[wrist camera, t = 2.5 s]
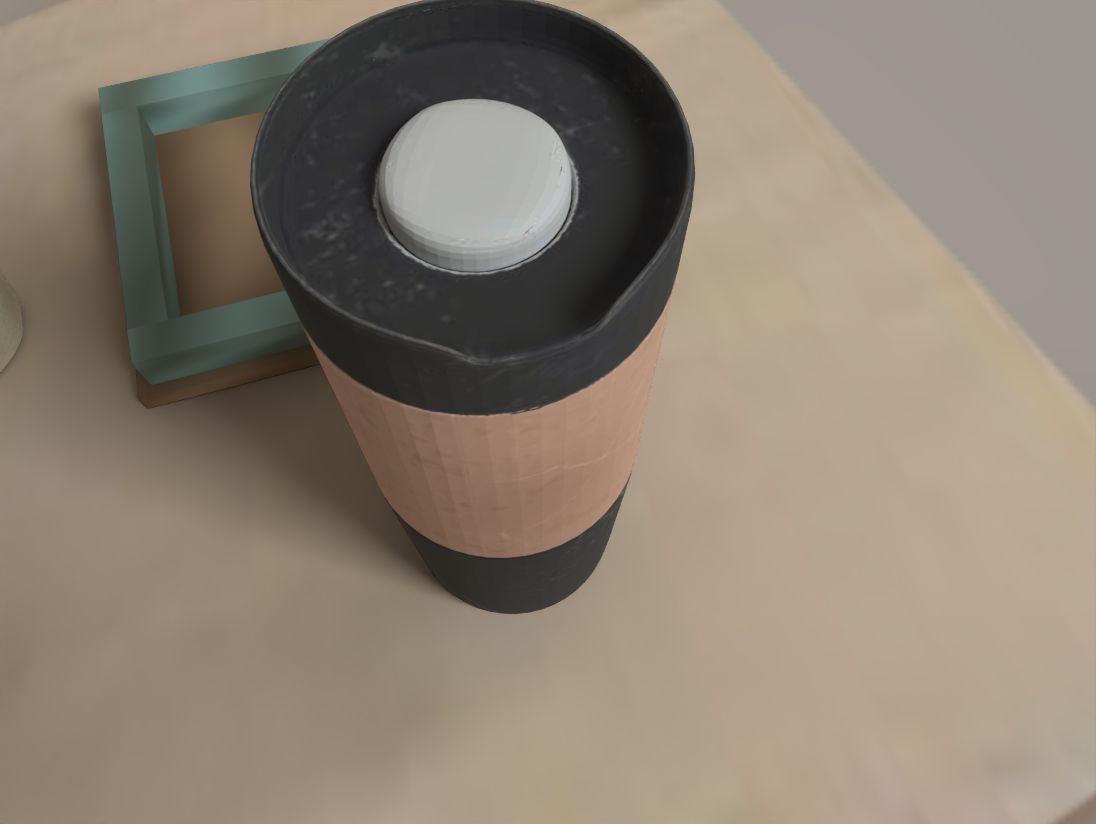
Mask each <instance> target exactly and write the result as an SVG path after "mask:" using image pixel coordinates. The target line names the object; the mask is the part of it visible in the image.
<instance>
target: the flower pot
mask: <svg viewBox="0 0 1096 824" xmlns="http://www.w3.org/2000/svg"><path fill="white" fill-rule="evenodd" d="M22 336H23V326H22V311H21V302H20V299H19V297H18V295H17V294H16V292H15V291H14V290H13V288H12V287H11V286H10V285H9V283H8V282H7V281H6V279H5V278H4V276H3V275H2V274H1V272H0V372H1V371H2V370H3V369H4V368H5V367H6V366H7V365H8V363H9V362H10V360H11V359H12V358H13V356H14V354H15V353H16V351H17V349H18V347H19V345H20V342H21V339H22Z"/></svg>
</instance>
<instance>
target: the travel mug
mask: <svg viewBox="0 0 1096 824" xmlns="http://www.w3.org/2000/svg"><path fill="white" fill-rule="evenodd" d="M694 181H695V165H694V148H693V143H692V139H691V134H690V130H689V126H688V123H687V121H686V118H685V116H684V113H683V111H682V108H681V106H680V103H679V101H678V99H677V98H676V96H675V94H674V92H673V91H672V89H671V87H670V86H669V84H668V82H667V81H666V80H665V78H664V77H663V76H662V75H661V73H660V72H659V71H658V70H657V68H656V67H655V66H654V65H653V63H651V62H650V61H649V60H648V59H647V58H646V57H645V56H644V55H643V54H642V53H641V52H640V51H639V50H638V49H637V48H636V47H634V46H633V45H632V44H630V43H629V42H628V41H626V40H625V39H624V38H622V37H621V36H620V35H618V34H617V33H615V32H613V31H612V30H610V29H608V28H607V27H605V26H603V25H601V24H600V23H598V22H596V21H594V20H592V19H589V18H587V17H585V16H583V15H580V14H578V13H576V12H574V11H571V10H567V9H564V8H561V7H558V6H555V5H552V4H549V3H544V2H539V1H534V0H423V1H418V2H415V3H411V4H407V5H403V6H400V7H396V8H393V9H390V10H388V11H385V12H382V13H380V14H377V15H374V16H372V17H369V18H367V19H365V20H363V21H361V22H359V23H357V24H355V25H353V26H351V27H349V28H347V29H346V30H344V31H343V32H341V33H339V34H338V35H336V36H335V37H333V38H332V39H330V40H328V41H327V42H326V43H324V44H323V45H322V46H321V47H319V48H318V49H317V50H316V51H314V52H313V53H312V54H311V55H309V56H308V57H307V58H306V59H305V60H304V61H303V62H302V63H301V64H300V65H299V66H298V67H297V68H296V69H295V70H294V71H293V72H292V73H291V74H290V76H289V77H288V78H287V80H286V81H285V82H284V84H283V85H282V86H281V88H280V89H279V90H278V92H277V93H276V94H275V96H274V98H273V100H272V102H271V103H270V105H269V107H268V109H267V111H266V112H265V114H264V117H263V119H262V122H261V125H260V127H259V130H258V133H257V135H256V139H255V144H254V149H253V154H252V159H251V171H250V189H251V197H252V205H253V211H254V216H255V219H256V222H257V226H258V229H259V232H260V235H261V238H262V241H263V244H264V247H265V249H266V251H267V253H268V255H269V257H270V259H271V261H272V263H273V265H274V268H275V270H276V272H277V274H278V276H279V278H280V280H281V282H282V284H283V286H284V288H285V291H286V293H287V295H288V297H289V299H290V301H291V303H292V305H293V307H294V309H295V311H296V313H297V316H298V318H299V320H300V322H301V324H302V326H303V328H304V330H305V332H306V334H307V337H308V339H309V341H310V343H311V345H312V347H313V349H314V351H315V353H316V355H317V358H318V360H319V362H320V364H321V366H322V368H323V370H324V372H325V374H326V376H327V379H328V381H329V383H330V385H331V387H332V389H333V391H334V393H335V395H336V397H337V399H338V402H339V404H340V406H341V408H342V410H343V412H344V414H345V416H346V418H347V420H348V423H349V425H350V427H351V429H352V431H353V433H354V435H355V437H356V439H357V441H358V444H359V446H360V448H361V450H362V452H363V454H364V456H365V458H366V460H367V462H368V465H369V467H370V469H371V471H372V473H373V475H374V477H375V479H376V481H377V483H378V485H379V487H380V489H381V491H382V493H383V495H384V497H385V499H386V500H387V502H388V503H389V505H390V507H391V508H392V510H393V511H394V513H395V515H396V516H397V518H398V519H399V521H400V523H401V524H402V526H403V528H404V529H405V531H406V532H407V534H408V536H409V537H410V539H411V540H412V542H413V544H414V545H415V547H416V548H417V550H418V552H419V553H420V555H421V556H422V558H423V560H424V561H425V562H426V564H427V565H428V567H429V568H430V570H431V571H432V573H433V574H434V576H435V577H436V578H437V579H438V580H439V581H440V582H441V583H442V584H443V586H444V587H445V588H446V589H448V590H449V591H450V592H451V593H452V594H454V595H455V596H456V597H458V598H460V599H461V600H463V601H464V602H466V603H468V604H470V605H473V606H475V607H477V608H480V609H484V610H487V611H490V612H497V613H503V614H519V613H528V612H533V611H537V610H541V609H544V608H546V607H549V606H552V605H554V604H556V603H558V602H560V601H561V600H563V599H565V598H567V597H568V596H569V595H571V594H572V593H573V592H575V591H576V590H577V589H578V588H579V587H580V586H581V585H582V584H583V583H584V582H585V581H586V580H587V579H588V577H589V576H590V575H591V574H592V572H593V571H594V569H595V567H596V566H597V564H598V562H599V561H600V559H601V557H602V554H603V552H604V550H605V547H606V545H607V542H608V540H609V537H610V534H611V531H612V528H613V525H614V522H615V519H616V516H617V514H618V511H619V508H620V505H621V502H622V499H623V496H624V493H625V490H626V487H627V484H628V481H629V478H630V475H631V472H632V469H633V465H634V462H635V458H636V454H637V450H638V446H639V441H640V437H641V432H642V428H643V423H644V419H645V414H646V410H647V405H648V401H649V396H650V392H651V387H652V383H653V378H654V374H655V369H656V365H657V360H658V356H659V351H660V347H661V342H662V338H663V333H664V329H665V324H666V320H667V316H668V311H669V307H670V302H671V298H672V293H673V289H674V284H675V280H676V275H677V271H678V266H679V262H680V257H681V253H682V248H683V244H684V240H685V235H686V231H687V226H688V222H689V217H690V213H691V208H692V199H693V190H694Z"/></svg>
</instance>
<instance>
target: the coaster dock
mask: <svg viewBox="0 0 1096 824" xmlns="http://www.w3.org/2000/svg"><path fill="white" fill-rule="evenodd" d="M331 39H332V38H331ZM328 40H330V39H327V40H322V41H317V42H312V43H308V44H303V45H298V46H294V47H289V48H284V49H280V50H275V51H270V52H266V53H261V54H256V55H252V56H247V57H242V58H238V59H233V60H228V61H224V62H219V63H214V64H209V65H205V66H200V67H195V68H191V69H186V70H181V71H177V72H172V73H167V74H163V75H158V76H153V77H149V78H144V79H139V80H135V81H130V82H125V83H121V84H116V85H111V86H106V87H102V88H98V89H99V98H100V106H101V114H102V123H103V131H104V140H105V148H106V156H107V165H108V173H109V182H110V190H111V198H112V207H113V215H114V223H115V232H116V240H117V249H118V257H119V265H120V274H121V282H122V291H123V299H124V307H125V316H126V324H127V332H128V341H129V349H130V358H131V364H132V365H133V366H134V367H135V368H136V376H137V384H138V392H139V400H140V401H141V402H142V403H143V404H144V405H145V406H146V407H147V408H152V407H156V406H160V405H163V404H167V403H171V402H175V401H179V400H183V399H187V398H191V397H194V396H198V395H202V394H206V393H210V392H214V391H218V390H221V389H225V388H229V387H233V386H237V385H241V384H245V383H249V382H252V381H256V380H260V379H264V378H268V377H272V376H276V375H279V374H283V373H287V372H291V371H295V370H299V369H303V368H307V367H310V366H314V365H318V364H320V362H319V360H318V358H317V355H316V353H315V351H314V349H313V347H312V345H311V343H310V341H309V339H308V337H307V334H306V332H305V330H304V328H303V326H302V324H301V322H300V320H299V318H298V316H297V313H296V311H295V309H294V307H293V305H292V303H291V301H290V299H289V297H288V295H287V293H286V291H285V288H284V286H283V284H282V282H281V280H280V278H279V276H278V274H277V272H276V270H275V268H274V265H273V263H272V261H271V259H270V257H269V255H268V253H267V251H266V249H265V247H264V244H263V241H262V238H261V235H260V232H259V229H258V226H257V222H256V219H255V216H254V211H253V205H252V197H251V189H250V171H251V159H252V154H253V149H254V144H255V139H256V135H257V133H258V130H259V127H260V125H261V122H262V119H263V117H264V114H265V112H266V111H267V109H268V107H269V105H270V103H271V102H272V100H273V98H274V96H275V94H276V93H277V92H278V90H279V89H280V88H281V86H282V85H283V84H284V82H285V81H286V80H287V78H288V77H289V76H290V74H291V73H292V72H293V71H294V70H295V69H296V68H297V67H298V66H299V65H300V64H301V63H302V62H303V61H304V60H305V59H306V58H307V57H308V56H309V55H311V54H312V53H313V52H314V51H316V50H317V49H318V48H319V47H321V46H322V45H323V44H324V43H326V42H327V41H328Z"/></svg>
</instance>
